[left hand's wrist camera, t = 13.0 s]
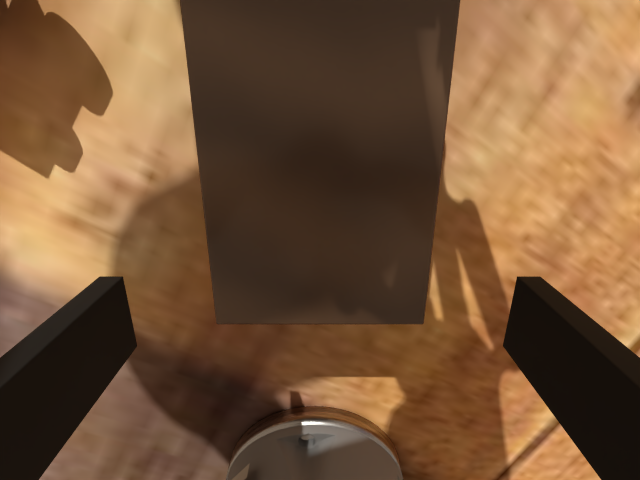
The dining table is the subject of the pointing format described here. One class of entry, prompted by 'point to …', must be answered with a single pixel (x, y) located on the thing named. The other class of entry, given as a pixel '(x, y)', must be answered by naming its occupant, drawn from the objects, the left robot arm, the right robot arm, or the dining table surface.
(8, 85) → the dining table surface
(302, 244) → the wooden chest box
